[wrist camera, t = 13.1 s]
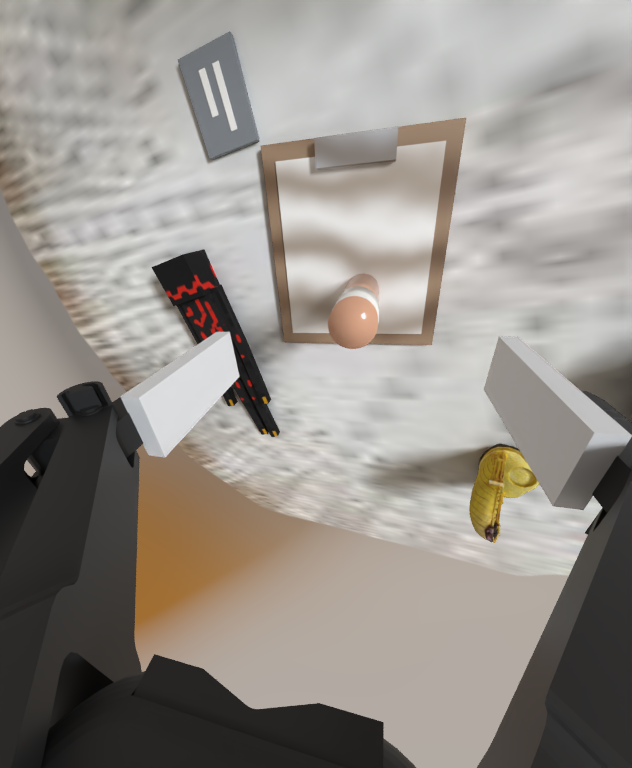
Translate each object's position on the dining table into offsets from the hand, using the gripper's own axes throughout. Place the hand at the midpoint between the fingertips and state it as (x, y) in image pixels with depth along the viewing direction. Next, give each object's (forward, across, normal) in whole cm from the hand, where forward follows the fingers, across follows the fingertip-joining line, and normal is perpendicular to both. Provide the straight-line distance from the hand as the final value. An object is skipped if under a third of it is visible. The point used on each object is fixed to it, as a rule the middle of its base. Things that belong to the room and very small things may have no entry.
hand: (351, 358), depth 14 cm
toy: (+24, -21, -11) cm, 34 cm away
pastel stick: (+23, -1, -1) cm, 23 cm away
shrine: (+24, +19, -27) cm, 41 cm away
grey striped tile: (+24, -16, +18) cm, 34 cm away
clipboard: (+24, -2, +3) cm, 24 cm away
